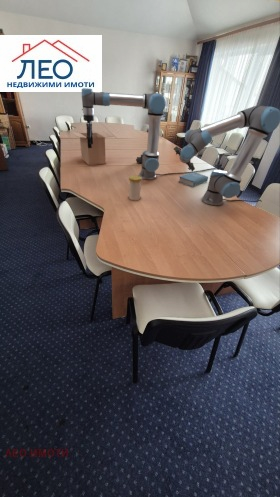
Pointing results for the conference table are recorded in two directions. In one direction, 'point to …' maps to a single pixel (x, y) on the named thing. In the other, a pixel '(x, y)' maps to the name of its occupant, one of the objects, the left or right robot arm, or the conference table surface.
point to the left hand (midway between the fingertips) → (90, 146)
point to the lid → (135, 178)
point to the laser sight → (139, 159)
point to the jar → (134, 190)
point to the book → (193, 179)
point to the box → (93, 147)
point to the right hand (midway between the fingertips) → (183, 160)
